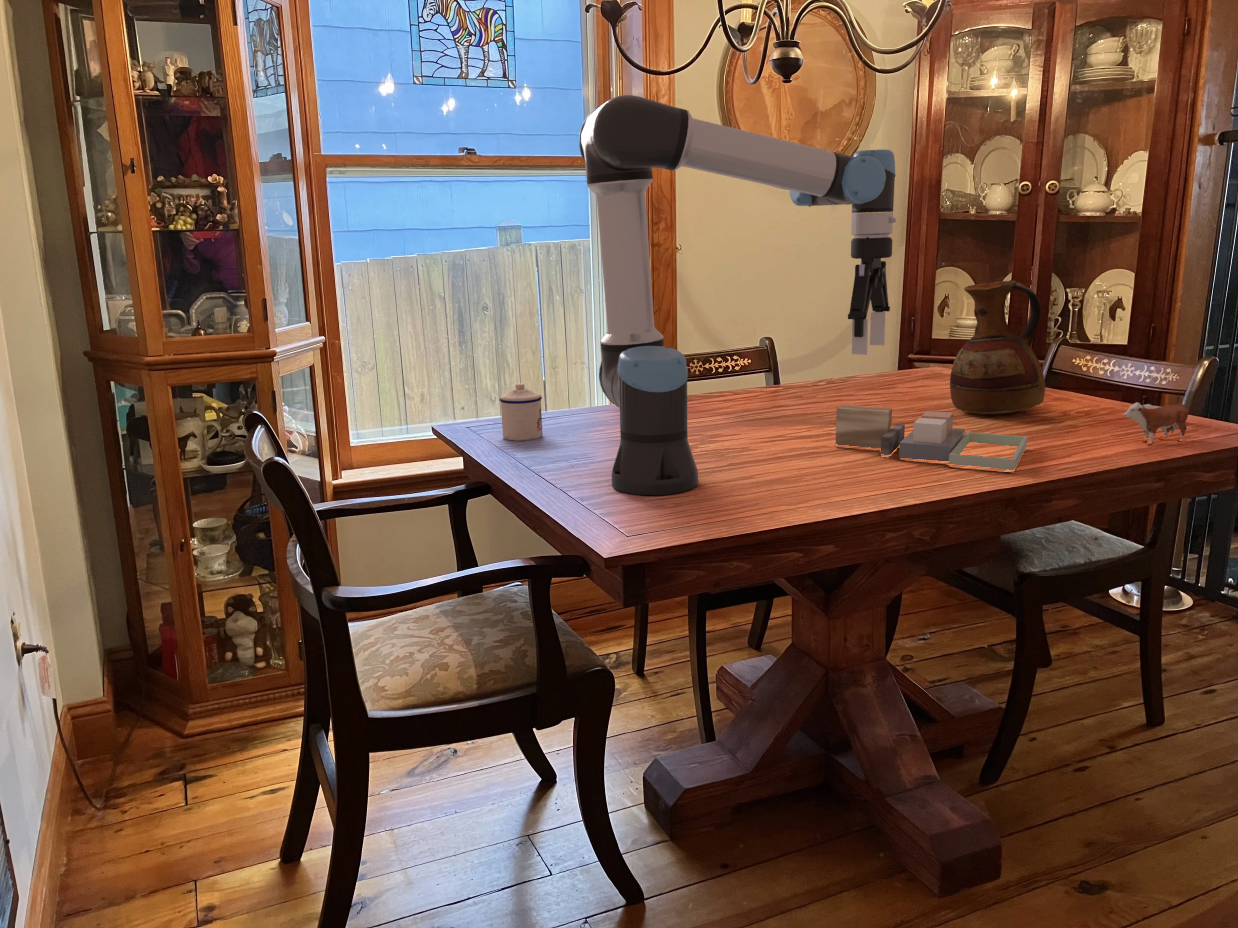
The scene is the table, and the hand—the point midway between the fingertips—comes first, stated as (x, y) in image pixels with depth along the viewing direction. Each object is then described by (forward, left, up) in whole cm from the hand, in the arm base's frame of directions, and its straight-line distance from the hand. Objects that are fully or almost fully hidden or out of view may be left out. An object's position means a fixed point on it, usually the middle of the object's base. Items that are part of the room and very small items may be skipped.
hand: (868, 349), depth 183 cm
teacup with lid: (-15, +72, -20) cm, 76 cm away
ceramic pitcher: (+45, -18, -20) cm, 52 cm away
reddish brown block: (+3, -13, -16) cm, 21 cm away
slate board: (0, -13, -19) cm, 23 cm away
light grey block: (-4, -13, -16) cm, 21 cm away
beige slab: (0, 0, -20) cm, 19 cm away
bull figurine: (+25, -50, -20) cm, 60 cm away
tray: (0, -23, -19) cm, 30 cm away
